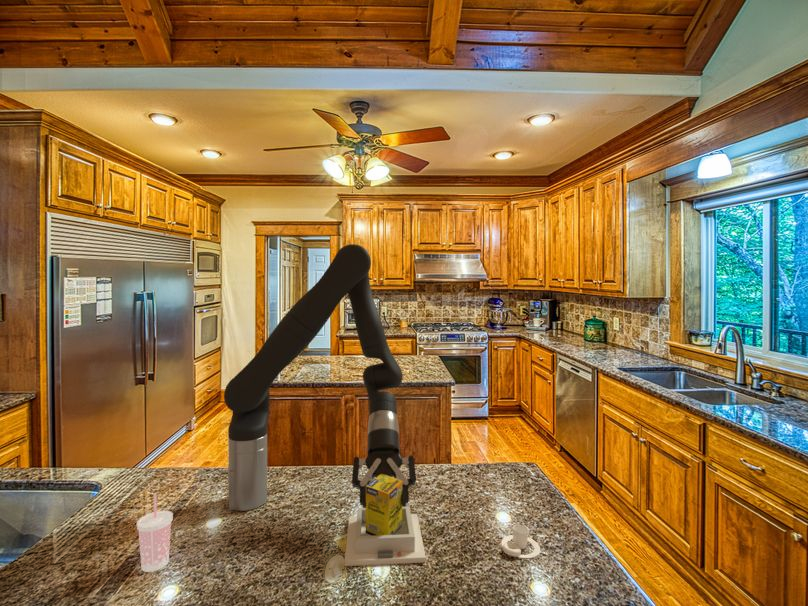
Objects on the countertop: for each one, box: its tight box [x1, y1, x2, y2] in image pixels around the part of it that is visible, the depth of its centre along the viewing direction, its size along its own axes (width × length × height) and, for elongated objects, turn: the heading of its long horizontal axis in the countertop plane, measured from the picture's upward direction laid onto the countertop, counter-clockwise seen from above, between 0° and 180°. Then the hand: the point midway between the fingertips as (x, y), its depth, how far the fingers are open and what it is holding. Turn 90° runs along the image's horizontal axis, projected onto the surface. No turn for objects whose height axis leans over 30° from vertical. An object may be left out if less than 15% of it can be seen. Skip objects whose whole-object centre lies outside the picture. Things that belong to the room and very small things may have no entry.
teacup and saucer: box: [500, 524, 541, 559], centre depth 85 cm, size 9×8×4 cm
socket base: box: [343, 505, 427, 567], centre depth 87 cm, size 16×16×4 cm
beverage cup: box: [136, 492, 174, 573], centre depth 79 cm, size 6×6×14 cm
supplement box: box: [366, 474, 403, 536], centre depth 86 cm, size 6×6×11 cm
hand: (384, 506), depth 86 cm, fingers closed on supplement box, 8 cm apart
